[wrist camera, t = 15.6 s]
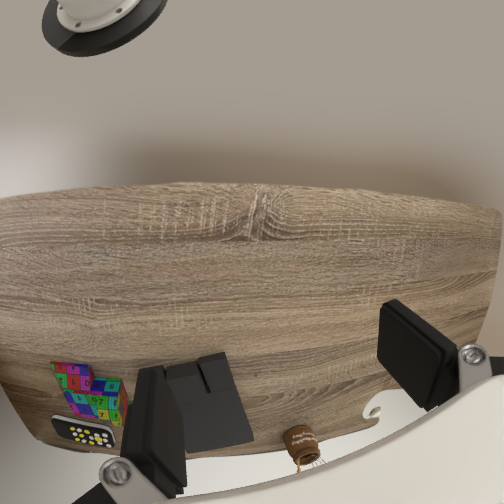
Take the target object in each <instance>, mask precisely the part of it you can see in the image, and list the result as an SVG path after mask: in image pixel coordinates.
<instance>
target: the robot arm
mask: <svg viewBox="0 0 504 504" xmlns="http://www.w3.org/2000/svg"><path fill="white" fill-rule="evenodd" d="M57 1H58V2H59V4H58V8H57V17H58V20H59V22H60V23H61V25H63V26H64V27H65V28H66V29H68V30H70V31H73V32H89V31H94V30H98V29H101V28H103V27H106V26H108V25H110V24H112V23H114V22H116V21H118V20H119V19H121V18H122V17H124V16H125V15H126V14H128V13H129V12H130V11H131V10H132V9H133V8H134V7H135V6H136V5H137V4H138V3H139V1H140V0H57ZM456 346H457V345H456V344H454V343H453V342H452V341H451V340H449V339H448V338H447V337H445V336H444V335H443V334H442V333H440V332H439V331H438V330H436V329H435V328H434V327H433V326H431V325H430V324H429V323H427V322H426V321H425V320H423V319H422V318H421V317H420V316H418V315H417V314H416V313H414V312H413V311H412V310H410V309H409V308H408V307H406V306H405V305H404V304H402V303H401V302H399V301H398V300H396V299H393V300H391V301H388V302H386V303H384V304H383V305H382V308H381V309H380V318H379V335H378V348H377V358H378V360H379V362H380V363H381V364H382V365H383V366H384V368H385V369H386V370H387V371H388V372H389V373H390V374H391V375H392V377H393V378H394V379H395V380H396V381H397V382H398V383H399V385H400V386H401V387H402V388H403V389H404V390H405V391H406V393H407V394H408V395H409V396H410V397H411V398H412V399H413V401H414V402H415V403H416V404H417V405H418V406H419V407H420V408H424V409H425V410H426V411H427V412H428V411H430V410H431V409H433V408H434V407H436V406H438V407H437V408H435V409H434V410H432V411H431V412H429V413H427V414H426V415H424V416H423V417H421V418H419V419H418V420H416V421H414V422H413V423H411V424H409V425H407V426H406V427H404V428H402V429H400V430H398V431H396V432H394V433H393V434H391V435H389V436H387V437H385V438H383V439H381V440H379V441H377V442H375V443H373V444H370V445H368V446H366V447H364V448H362V449H360V450H357V451H355V452H353V453H350V454H348V455H346V456H343V457H341V458H338V459H336V460H333V461H331V462H328V463H325V464H323V465H320V466H317V467H314V468H312V469H308V470H305V471H302V472H299V473H296V474H293V475H289V476H286V477H282V478H279V479H275V480H271V481H267V482H264V483H259V484H255V485H250V486H246V487H241V488H236V489H231V490H226V491H220V492H214V493H208V494H200V495H194V496H187V497H180V498H176V495H177V494H184V490H183V487H187V475H186V462H185V461H186V460H185V443H184V420H183V416H182V413H181V411H180V409H179V408H178V406H177V404H176V402H175V400H174V399H173V397H172V395H171V393H170V391H169V389H168V387H167V385H166V384H165V382H164V380H163V378H162V376H161V374H160V372H159V371H155V370H154V369H153V368H151V369H145V370H140V371H139V372H138V377H137V383H136V388H135V394H134V400H133V404H129V405H128V408H127V413H126V418H125V425H124V431H123V438H122V445H121V453H120V457H115V458H111V459H109V460H107V461H106V462H105V463H104V464H103V465H102V466H101V468H100V470H99V479H100V481H101V482H100V483H98V484H97V485H96V486H95V487H94V488H92V489H91V490H89V491H88V492H87V493H86V494H84V495H83V496H81V497H80V498H79V499H77V500H76V501H75V502H74V503H72V504H504V357H490V356H489V354H488V352H487V351H486V349H485V348H484V347H482V346H481V345H478V344H466V345H464V346H462V347H461V348H460V350H458V349H457V348H456Z"/></svg>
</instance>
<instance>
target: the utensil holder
mask: <svg viewBox="0 0 504 504" xmlns="http://www.w3.org/2000/svg"><path fill="white" fill-rule="evenodd" d="M284 442H285V445H286V448H287V450H288V453H289V455H290V456H291V457H292V458H293V461H294V462H295V464H296V465H298V470H297V473H299V472H301V470H300V467H299V465H307V464H310V463H312V462H314V461H316V460H317V459H318V458H319V457H320V450H319V449H318V442H317V440H316V438H315V436H314V434H313V432H312V430H311V428H310V427H308V426H297V427H294V428H292V429H290V430H289V431H287V432H286V433H285V435H284Z"/></svg>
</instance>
